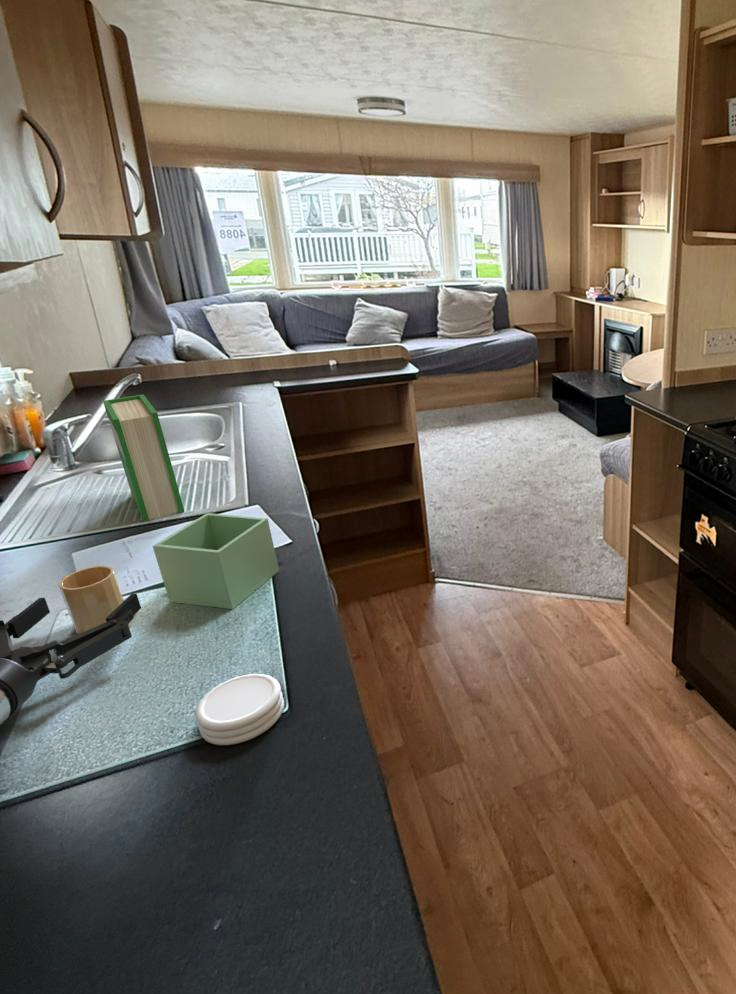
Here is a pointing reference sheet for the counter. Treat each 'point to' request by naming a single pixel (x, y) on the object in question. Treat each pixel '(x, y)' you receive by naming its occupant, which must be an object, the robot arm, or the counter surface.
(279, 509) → the counter surface
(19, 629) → the robot arm
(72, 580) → the tan hollow cylinder
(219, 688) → the coaster
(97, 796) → the counter surface
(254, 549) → the bin
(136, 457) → the hardback book
